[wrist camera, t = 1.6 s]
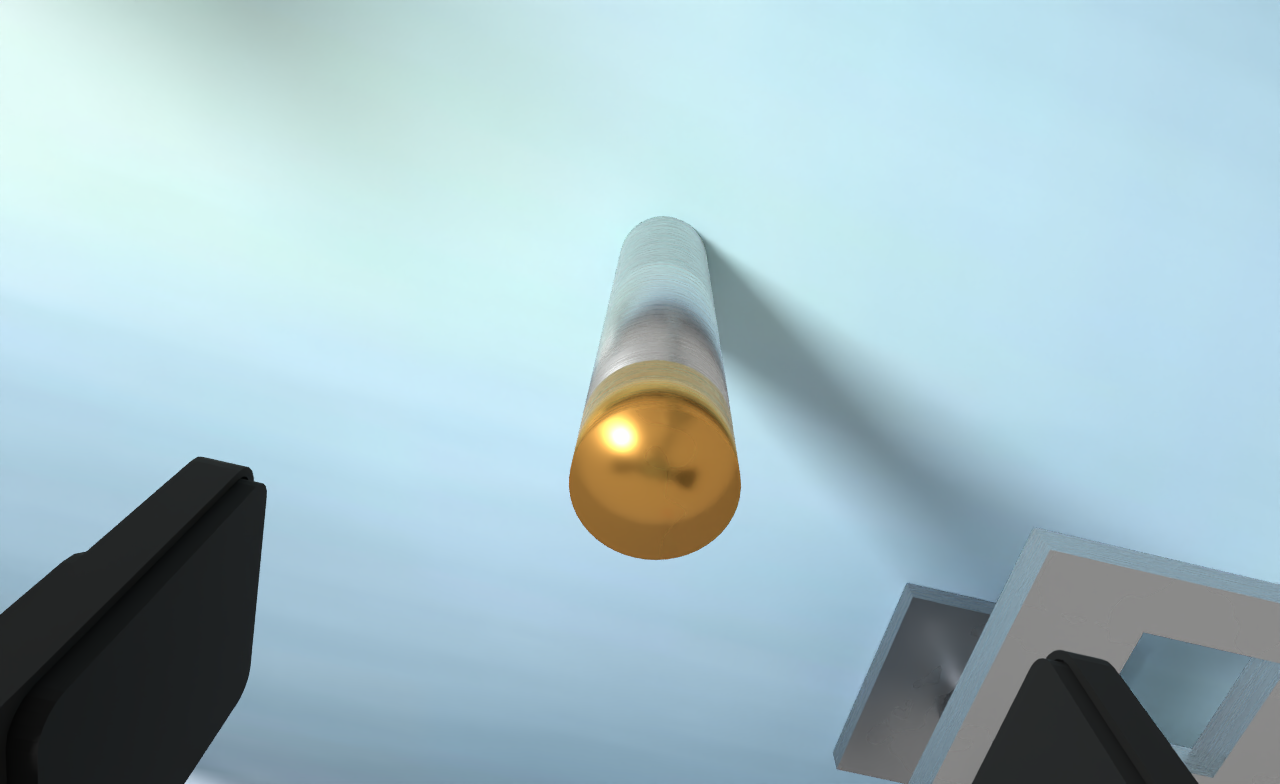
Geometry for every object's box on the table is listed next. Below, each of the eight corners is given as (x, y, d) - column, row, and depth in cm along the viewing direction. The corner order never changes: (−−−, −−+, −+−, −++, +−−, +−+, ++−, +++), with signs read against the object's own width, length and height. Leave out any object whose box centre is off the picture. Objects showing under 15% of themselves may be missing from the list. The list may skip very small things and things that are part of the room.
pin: (631, 206, 26) (589, 389, 13) (716, 228, 26) (762, 430, 13) (611, 290, 26) (553, 538, 14) (693, 310, 27) (714, 575, 14)
